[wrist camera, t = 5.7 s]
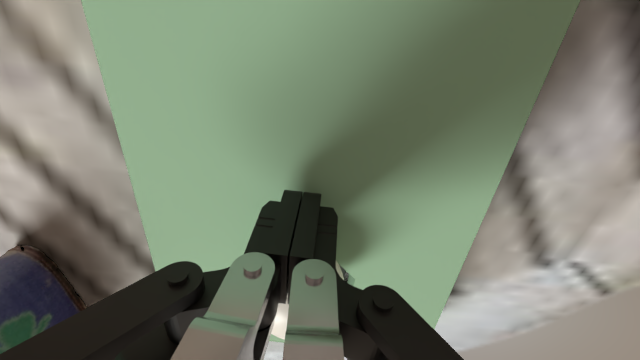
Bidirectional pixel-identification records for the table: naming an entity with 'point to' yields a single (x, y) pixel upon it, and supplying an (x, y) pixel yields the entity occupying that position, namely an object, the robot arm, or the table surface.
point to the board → (324, 122)
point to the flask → (32, 296)
